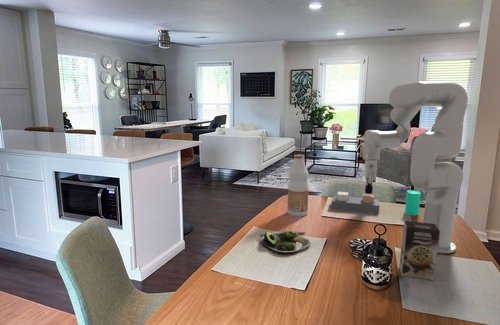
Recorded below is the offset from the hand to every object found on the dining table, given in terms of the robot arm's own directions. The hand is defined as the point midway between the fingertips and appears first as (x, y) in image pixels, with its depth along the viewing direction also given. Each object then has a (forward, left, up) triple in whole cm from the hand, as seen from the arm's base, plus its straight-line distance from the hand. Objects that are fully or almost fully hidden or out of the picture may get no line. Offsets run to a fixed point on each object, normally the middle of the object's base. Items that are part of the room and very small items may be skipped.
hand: (368, 193), depth 162 cm
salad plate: (-59, -3, -9) cm, 60 cm away
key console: (-3, +5, -8) cm, 10 cm away
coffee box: (-41, -44, -8) cm, 61 cm away
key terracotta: (0, 0, -5) cm, 5 cm away
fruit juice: (-31, +17, -8) cm, 37 cm away
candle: (+12, -16, -8) cm, 22 cm away
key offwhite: (-7, +10, -5) cm, 13 cm away
